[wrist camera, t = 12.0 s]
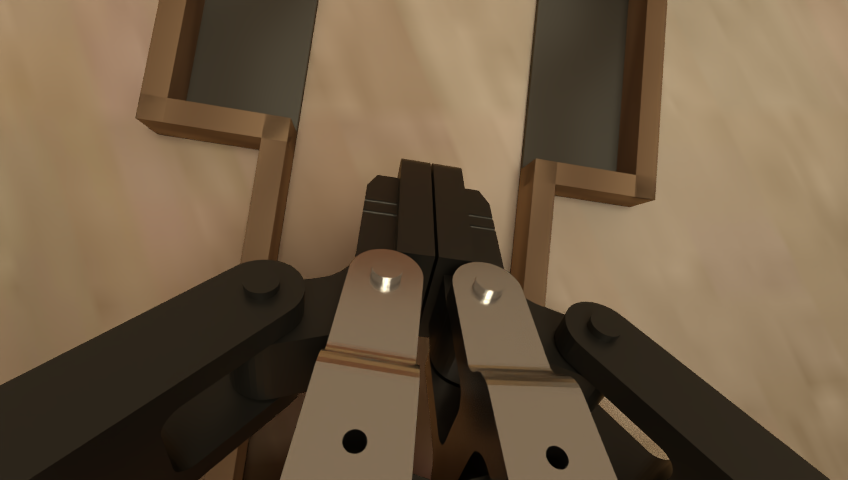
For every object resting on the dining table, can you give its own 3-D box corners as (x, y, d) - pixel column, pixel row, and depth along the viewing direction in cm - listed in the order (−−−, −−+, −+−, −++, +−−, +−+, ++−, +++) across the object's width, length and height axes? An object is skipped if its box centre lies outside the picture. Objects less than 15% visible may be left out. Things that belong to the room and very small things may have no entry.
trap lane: (661, -263, 20) (714, -358, 17) (609, 506, 16) (665, 556, 13) (258, -386, 18) (238, -520, 15) (90, 474, 14) (17, 526, 11)
